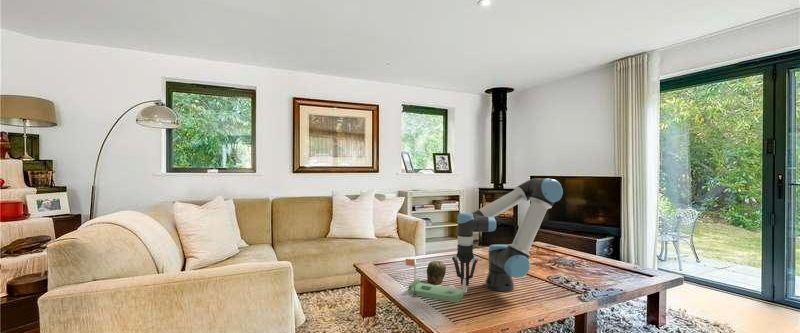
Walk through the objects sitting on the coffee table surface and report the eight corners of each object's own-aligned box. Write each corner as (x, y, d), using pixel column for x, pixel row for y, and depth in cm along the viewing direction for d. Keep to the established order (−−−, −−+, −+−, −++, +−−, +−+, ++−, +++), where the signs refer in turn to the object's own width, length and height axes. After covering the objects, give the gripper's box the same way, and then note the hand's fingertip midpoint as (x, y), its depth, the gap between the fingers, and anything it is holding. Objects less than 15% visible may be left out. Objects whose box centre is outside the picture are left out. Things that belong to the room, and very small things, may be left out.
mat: (464, 294, 171) (464, 285, 171) (458, 302, 160) (458, 293, 160) (417, 286, 182) (417, 278, 182) (408, 294, 171) (408, 285, 171)
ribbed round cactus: (445, 286, 183) (445, 264, 183) (425, 284, 186) (425, 263, 186) (446, 279, 194) (446, 259, 194) (427, 278, 196) (427, 258, 196)
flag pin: (417, 295, 168) (418, 259, 169) (416, 297, 166) (416, 260, 166) (406, 293, 171) (406, 257, 171) (404, 295, 169) (404, 259, 169)
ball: (455, 291, 168) (455, 284, 169) (453, 293, 165) (453, 286, 165) (448, 290, 170) (449, 283, 170) (446, 292, 167) (447, 285, 167)
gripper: (479, 243, 166) (479, 291, 165) (454, 241, 171) (454, 287, 171) (476, 247, 159) (476, 296, 159) (450, 244, 164) (450, 292, 164)
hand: (464, 291), depth 165 cm, fingers closed
